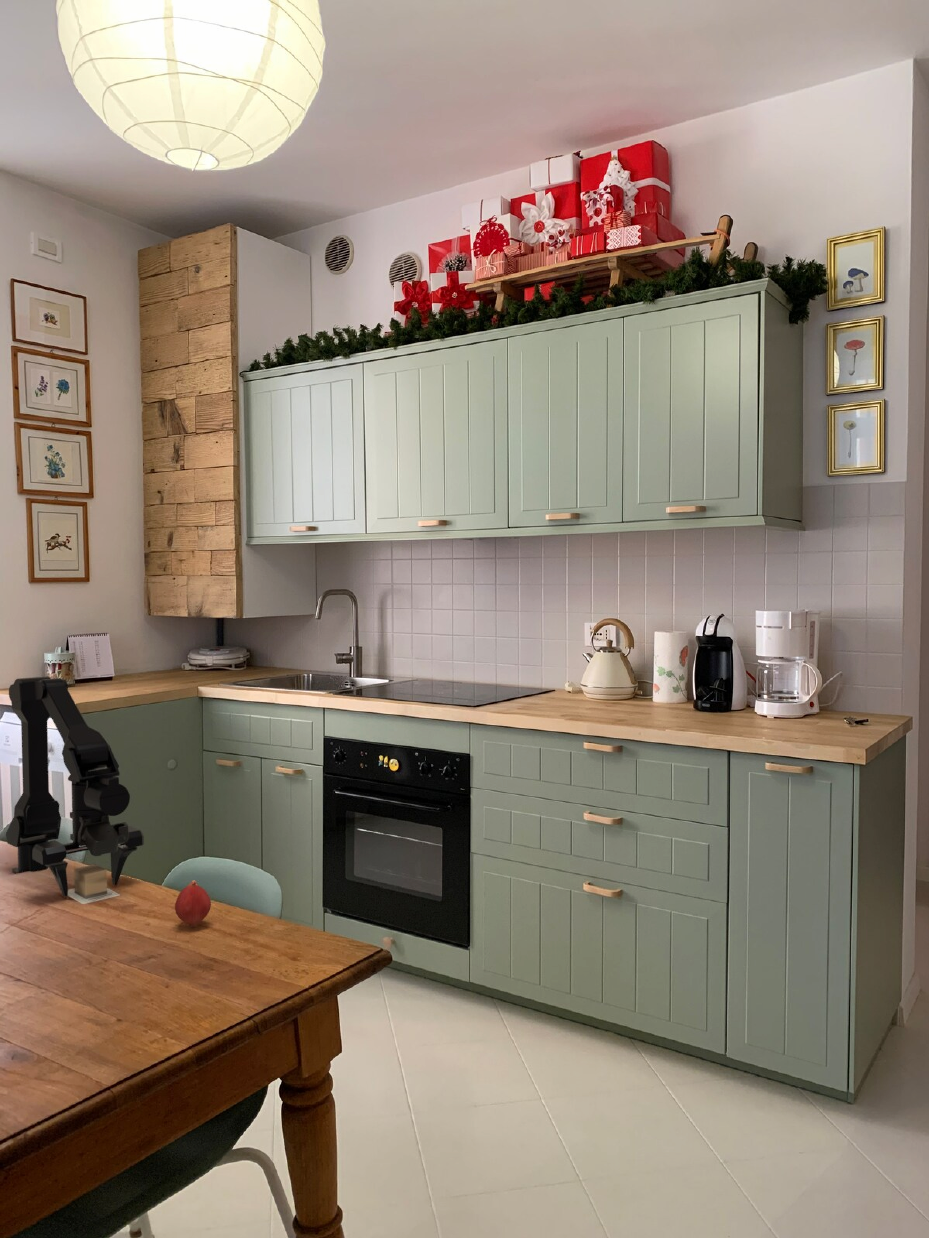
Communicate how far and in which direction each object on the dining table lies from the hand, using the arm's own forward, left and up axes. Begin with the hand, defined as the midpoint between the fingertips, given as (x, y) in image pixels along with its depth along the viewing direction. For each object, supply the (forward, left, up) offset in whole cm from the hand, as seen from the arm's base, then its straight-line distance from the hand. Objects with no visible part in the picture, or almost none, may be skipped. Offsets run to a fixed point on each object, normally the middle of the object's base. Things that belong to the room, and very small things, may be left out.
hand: (90, 890), depth 174 cm
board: (0, 0, -2) cm, 2 cm away
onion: (+27, +7, -2) cm, 28 cm away
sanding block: (0, 0, 0) cm, 1 cm away
